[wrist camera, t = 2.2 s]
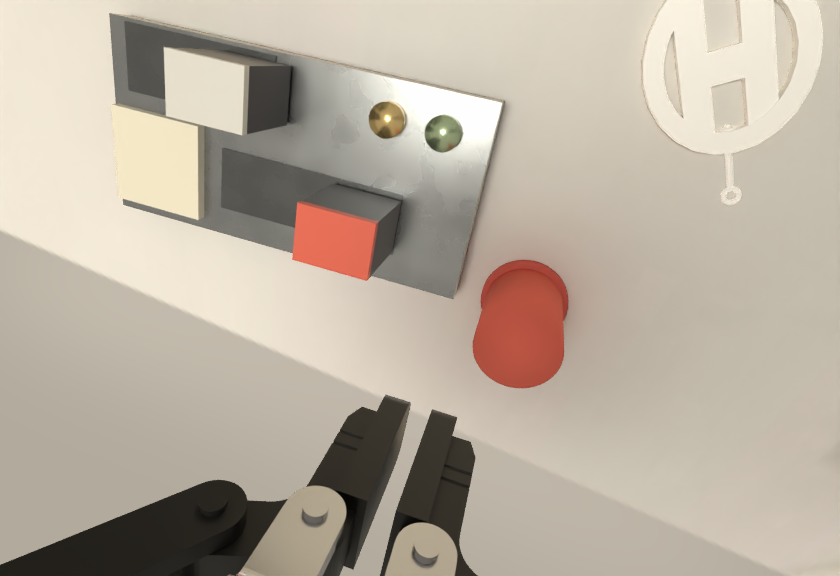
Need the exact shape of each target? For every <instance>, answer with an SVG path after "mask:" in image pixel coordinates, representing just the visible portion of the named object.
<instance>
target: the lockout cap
mask: <svg viewBox="0 0 840 576" xmlns="http://www.w3.org/2000/svg"><path fill="white" fill-rule="evenodd" d="M481 308H482V312H481V315H480V319H479V322H478V325H477V329H476V332H475V336H474V340H473V353H474V357H475V360H476V362H477V364H478V366H479V367H480V369H481V370H482V371H483V372H484V373H485V374H486V375H487V376H488V377H489V378H491V379H492V380H494V381H495V382H497V383H499V384H502V385H505V386H508V387H513V388H529V387H534V386H537V385H540V384H542V383H544V382H546V381H548V380H549V379H550V378H552V377H553V376H554V375H555V374H556V373H557V371H558V370H559V368H560V366H561V364H562V361H563V357H564V335H563V321H564V319H565V317H566V314H567V309H568V295H567V290H566V287H565V285H564V283H563V281H562V279H561V278H560V277H559V275H558V274H557V273H556V272H555V271H553V270H552V269H551V268H549V267H548V266H546V265H544V264H542V263H539V262H535V261H531V260H517V261H512V262H509V263H506V264H504V265H502V266H500V267H499V268H497V269H496V270H495V271H494V272H493V273H492V274H491V275H490V276H489V277H488V279H487V281H486V282H485V285H484V288H483V291H482V295H481Z"/></svg>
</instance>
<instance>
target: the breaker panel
mask: <svg viewBox="0 0 840 576" xmlns="http://www.w3.org/2000/svg"><path fill="white" fill-rule="evenodd" d="M109 15H110V28H111V42H112V56H113V69H114V83H115V97H116V104H123V105H127V106H131V107H135V108H139V109H142V110H146V111H150V112H154V113H158V114H162V115H166V101H165V70H164V47H171V48H193V49H215V50H225V51H229V52H233V53H237V54H242V55H246V56H250V57H255V58H259V59H263V60H268V61H272V62H276V63H281V64H285V65H289V66H291V75H290V89H289V103H288V117H287V125H286V126H282V127H277V128H273V129H268V130H264V131H259V132H255V133H251V134H246V135H239V134H235V133H231V132H227V131H223V130H219V129H215V128H211V127H207V126H204V218H202V219H200V220H196V219H193V218H189V217H186V216H182V215H179V214H175V213H172V212H168V211H165V210H161V209H158V208H154V207H151V206H147V205H144V204H140V203H137V202H133V201H129V200H126V199H123V205H126V206H130V207H133V208H137V209H140V210H143V211H147V212H150V213H154V214H157V215H161V216H164V217H168V218H171V219H175V220H178V221H182V222H185V223H189V224H192V225H196V226H199V227H203V228H206V229H210V230H213V231H217V232H220V233H224V234H227V235H231V236H234V237H238V238H241V239H245V240H248V241H252V242H255V243H259V244H262V245H266V246H269V247H273V248H276V249H280V250H283V251H287V252H290V253H293V246H294V235H295V223H296V211H297V203H298V202H300V201H301V200H303V199H305V198H307V197H309V196H311V195H313V194H315V193H316V192H318V191H320V190H322V189H324V188H326V187H328V186H329V185H331V184H337V185H341V186H344V187H348V188H352V189H356V190H360V191H364V192H367V193H371V194H375V195H379V196H383V197H386V198H390V199H394V200H398V201H401V206H400V212H399V217H398V223H397V229H396V234H395V240H394V245H393V251H392V252H391V254H390V255H389V256H388V257H387V258H386V259H385V261H384V262H383V263H382V264H381V265H380V266H379V267H378V269H377V270H376V271H375V272H374V273H373V274H372V275H371V276H374V277H378V278H381V279H385V280H388V281H392V282H395V283H399V284H402V285H406V286H409V287H413V288H416V289H420V290H423V291H427V292H430V293H434V294H437V295H441V296H444V297H448V298H451V299H453V298H454V296H455V293H456V291H457V288H458V285H459V281H460V277H461V273H462V269H463V265H464V261H465V257H466V253H467V249H468V245H469V241H470V237H471V233H472V229H473V225H474V221H475V217H476V213H477V209H478V205H479V201H480V197H481V193H482V189H483V185H484V182H485V178H486V174H487V170H488V166H489V162H490V158H491V154H492V150H493V146H494V142H495V138H496V134H497V130H498V126H499V122H500V118H501V114H502V110H503V106H504V102H505V101H502V100H498V99H494V98H489V97H485V96H480V95H476V94H472V93H467V92H463V91H459V90H454V89H450V88H445V87H441V86H437V85H432V84H428V83H423V82H419V81H415V80H410V79H406V78H402V77H397V76H393V75H388V74H384V73H380V72H375V71H371V70H366V69H362V68H358V67H353V66H349V65H344V64H340V63H336V62H331V61H327V60H323V59H318V58H314V57H309V56H305V55H301V54H296V53H292V52H287V51H283V50H279V49H274V48H270V47H266V46H261V45H257V44H252V43H248V42H244V41H239V40H235V39H230V38H226V37H222V36H217V35H213V34H208V33H204V32H200V31H195V30H191V29H187V28H182V27H178V26H173V25H169V24H165V23H160V22H156V21H151V20H147V19H143V18H138V17H134V16H129V15H120V14H112V13H109Z"/></svg>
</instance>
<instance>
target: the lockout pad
mask: <svg viewBox="0 0 840 576" xmlns="http://www.w3.org/2000/svg"><path fill="white" fill-rule="evenodd" d="M111 112H112V125H113V137H114V150H115V163H116V176H117V189H118V197H119V198H122V199H126V200H129V201H133V202H137V203H140V204H144V205H147V206H151V207H154V208H158V209H161V210H165V211H168V212H172V213H175V214H179V215H182V216H186V217H189V218H193V219H196V220H200V219H202V218H204V125H200V124H196V123H192V122H188V121H184V120H180V119H176V118H172V117H168V116H166V115H162V114H158V113H154V112H150V111H146V110H142V109H139V108H135V107H131V106H127V105H123V104H111Z"/></svg>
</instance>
